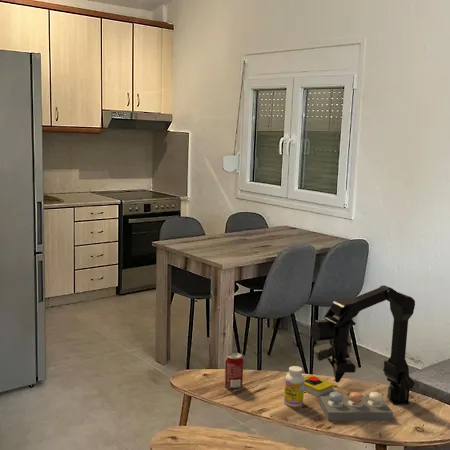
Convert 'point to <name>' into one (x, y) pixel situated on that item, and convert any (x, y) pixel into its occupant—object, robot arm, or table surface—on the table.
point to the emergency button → (318, 386)
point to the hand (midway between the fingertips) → (337, 381)
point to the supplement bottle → (294, 387)
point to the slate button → (335, 397)
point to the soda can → (233, 370)
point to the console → (355, 410)
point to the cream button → (375, 397)
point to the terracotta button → (356, 397)
